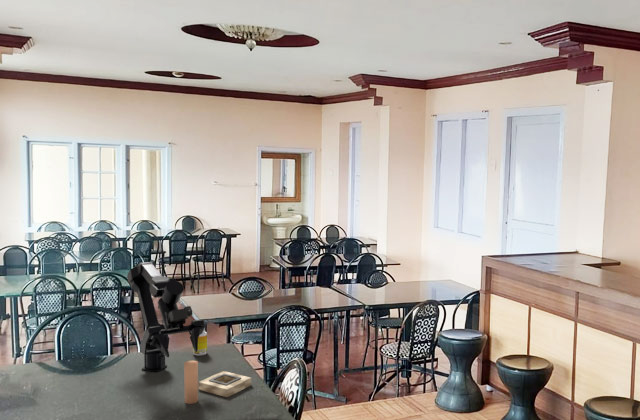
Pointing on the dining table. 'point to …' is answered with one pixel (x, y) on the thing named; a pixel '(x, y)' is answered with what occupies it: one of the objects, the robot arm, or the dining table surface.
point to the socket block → (225, 383)
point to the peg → (191, 381)
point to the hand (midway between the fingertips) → (182, 354)
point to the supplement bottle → (201, 344)
